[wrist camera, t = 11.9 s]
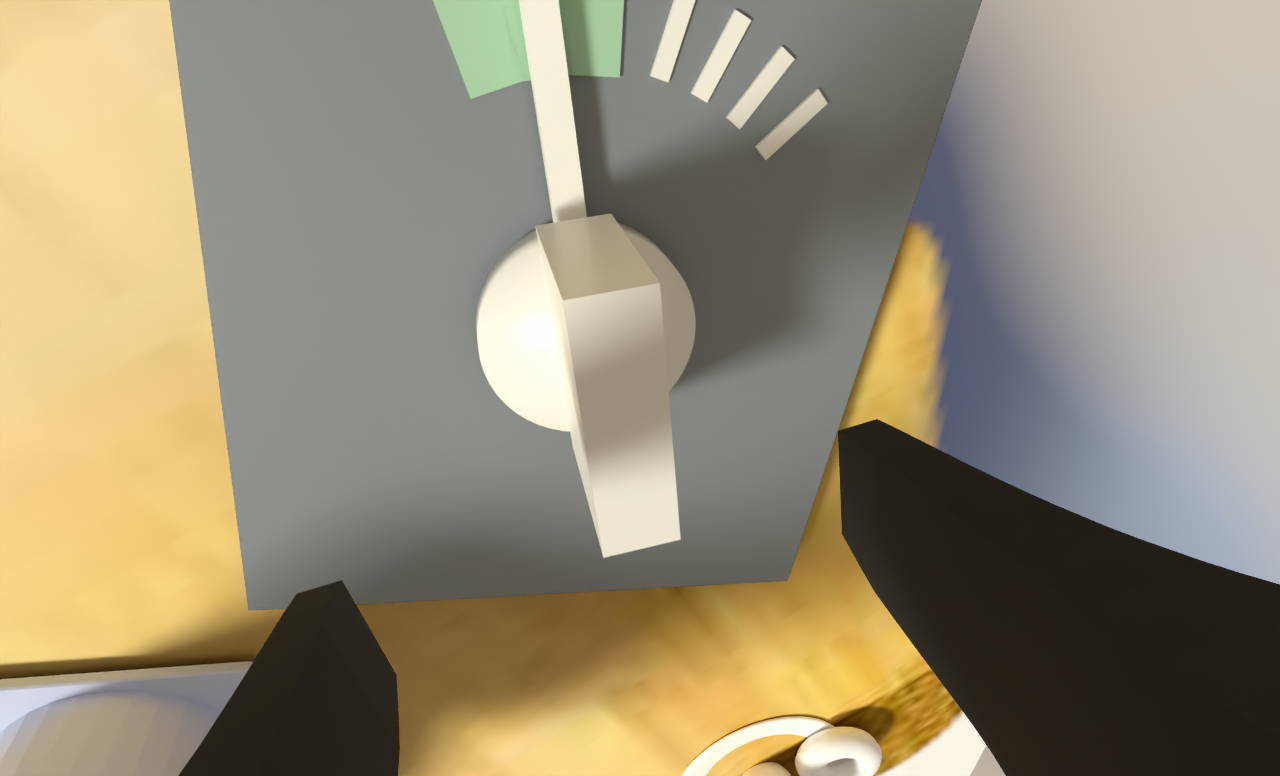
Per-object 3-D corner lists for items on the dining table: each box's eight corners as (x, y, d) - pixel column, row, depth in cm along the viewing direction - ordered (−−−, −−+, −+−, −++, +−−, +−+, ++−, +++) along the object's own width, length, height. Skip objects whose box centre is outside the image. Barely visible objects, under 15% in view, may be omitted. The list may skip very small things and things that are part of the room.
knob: (689, 399, 19) (759, 521, 15) (500, 438, 18) (518, 577, 14) (658, -88, 13) (757, -116, 9) (384, -62, 13) (356, -79, 8)
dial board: (773, 555, 25) (788, 582, 24) (258, 578, 20) (247, 613, 19) (964, -47, 16) (1000, -48, 15) (162, -232, 12) (134, -253, 11)
